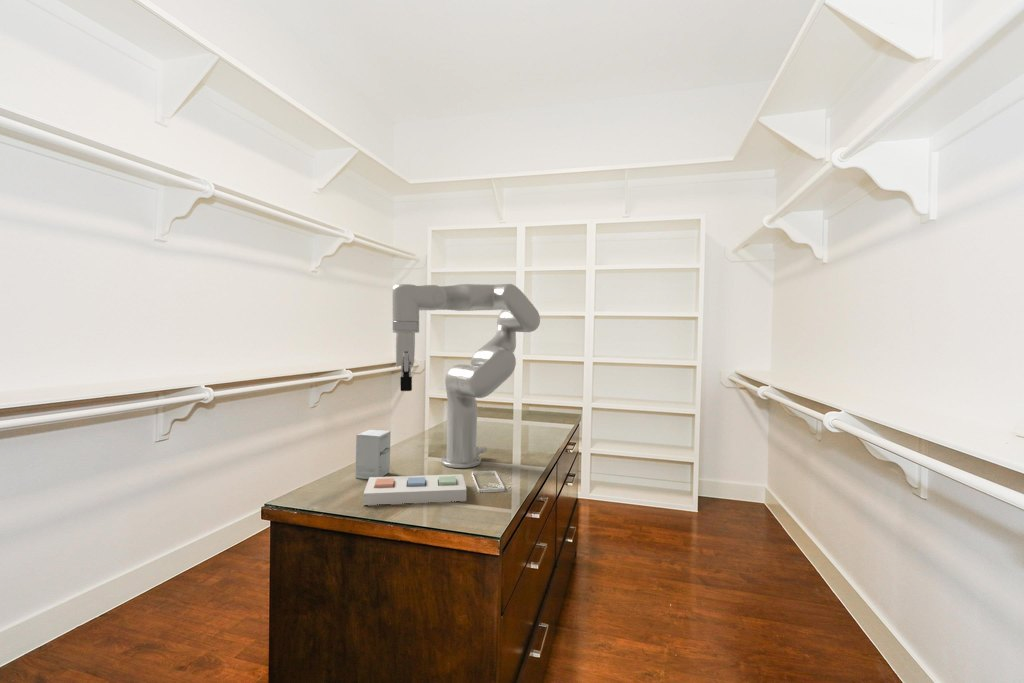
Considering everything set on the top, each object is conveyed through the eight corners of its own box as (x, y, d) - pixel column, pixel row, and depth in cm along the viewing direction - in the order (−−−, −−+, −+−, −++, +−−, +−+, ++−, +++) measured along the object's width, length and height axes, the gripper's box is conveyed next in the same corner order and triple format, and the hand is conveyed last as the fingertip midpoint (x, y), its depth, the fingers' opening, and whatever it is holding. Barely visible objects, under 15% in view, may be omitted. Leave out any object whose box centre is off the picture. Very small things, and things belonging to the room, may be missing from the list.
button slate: (424, 489, 124) (425, 477, 124) (424, 495, 120) (425, 482, 120) (407, 489, 123) (408, 477, 123) (407, 495, 119) (407, 483, 119)
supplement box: (378, 480, 131) (379, 436, 131) (354, 478, 133) (355, 434, 132) (390, 472, 139) (391, 430, 138) (367, 470, 140) (368, 428, 140)
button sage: (455, 487, 126) (455, 476, 125) (456, 493, 121) (456, 481, 121) (438, 488, 125) (438, 476, 125) (439, 494, 120) (439, 482, 120)
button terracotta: (394, 490, 123) (394, 478, 122) (392, 496, 118) (393, 484, 118) (376, 490, 122) (376, 478, 122) (374, 497, 117) (375, 484, 117)
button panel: (462, 484, 130) (462, 474, 130) (466, 501, 118) (466, 489, 118) (369, 488, 125) (369, 477, 125) (363, 505, 113) (363, 493, 113)
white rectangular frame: (505, 493, 126) (495, 475, 140) (505, 488, 126) (495, 470, 140) (478, 494, 124) (471, 476, 139) (478, 489, 124) (471, 471, 139)
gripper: (393, 326, 141) (393, 387, 142) (391, 328, 126) (392, 395, 127) (418, 326, 142) (418, 386, 144) (420, 328, 128) (420, 394, 129)
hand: (406, 390), depth 135 cm, fingers closed
